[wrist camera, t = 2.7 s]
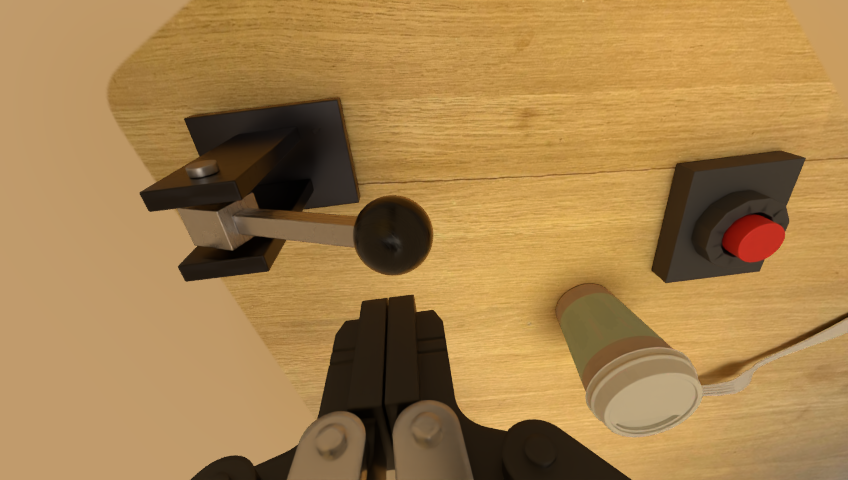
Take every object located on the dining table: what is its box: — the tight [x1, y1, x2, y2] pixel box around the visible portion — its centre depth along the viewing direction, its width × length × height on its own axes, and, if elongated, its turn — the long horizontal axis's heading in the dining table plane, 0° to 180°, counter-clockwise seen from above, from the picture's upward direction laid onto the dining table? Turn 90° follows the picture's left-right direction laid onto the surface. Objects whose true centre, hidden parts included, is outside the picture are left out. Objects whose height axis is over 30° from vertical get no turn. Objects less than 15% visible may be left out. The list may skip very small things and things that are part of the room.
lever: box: [177, 192, 433, 275], centre depth 17 cm, size 13×3×3 cm, turn 96°
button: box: [722, 214, 785, 262], centre depth 30 cm, size 4×4×2 cm
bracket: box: [140, 97, 360, 281], centre depth 23 cm, size 11×8×13 cm
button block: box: [652, 151, 806, 283], centre depth 32 cm, size 11×9×4 cm
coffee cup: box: [556, 284, 703, 437], centre depth 33 cm, size 9×9×12 cm
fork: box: [701, 317, 848, 396], centre depth 43 cm, size 3×21×3 cm, turn 123°
